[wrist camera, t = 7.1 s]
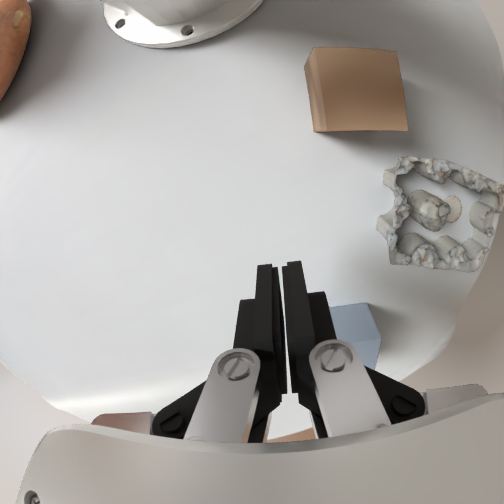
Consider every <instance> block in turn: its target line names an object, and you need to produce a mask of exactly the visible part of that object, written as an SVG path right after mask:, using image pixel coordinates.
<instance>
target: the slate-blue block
mask: <svg viewBox="0 0 504 504" xmlns="http://www.w3.org/2000/svg"><path fill="white" fill-rule="evenodd" d="M329 309H330V313H331V317H332V321H333V325H334V329H335V333H336V337H337V340H342V341H345V342H348V343H349V344H351V345H352V346H353V347H354V348H355V349H356V351H357V353H358V355H359V357H360V359H361V361H362V363H363V365H365V366H367V367H369V368H371V369H373V370H375V366H376V362H377V358H378V353H379V349H380V344H381V339H382V337H381V335H380V333H379V330H378V328H377V326H376V323H375V321H374V319H373V316H372V314H371V312H370V310H369V308H368V305H367V303H359V304H352V305H344V306H336V307H329Z"/></svg>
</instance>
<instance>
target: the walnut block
mask: <svg viewBox="0 0 504 504" xmlns="http://www.w3.org/2000/svg"><path fill="white" fill-rule="evenodd" d="M304 69H305V75H306V81H307V87H308V93H309V100H310V107H311V114H312V121H313V129H314V132H318V131H351V130H391V131H408V126H407V115H406V107H405V99H404V92H403V85H402V79H401V73H400V68H399V63H398V58H397V53H396V52H394V51H386V50H377V49H365V48H348V47H314V48H313V50H312V52H311V54H310V56H309V58H308V60H307V62H306V64H305V66H304Z"/></svg>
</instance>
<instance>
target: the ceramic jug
mask: <svg viewBox="0 0 504 504" xmlns="http://www.w3.org/2000/svg"><path fill="white" fill-rule="evenodd" d="M31 17H32V16H31V8H30V5H29V3H28V2H27V0H0V101H1V99H2V98H3V96H4V94H5V93H6V91H7V89H8V88H9V86H10V84H11V82H12V80H13V78H14V76H15V74H16V72H17V70H18V67H19V65H20V63H21V60H22V57H23V54H24V51H25V48H26V45H27V41H28V37H29V33H30V27H31Z"/></svg>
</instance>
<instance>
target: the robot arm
mask: <svg viewBox="0 0 504 504" xmlns="http://www.w3.org/2000/svg"><path fill="white" fill-rule="evenodd" d="M100 1H102V2H104V4H103V11H104V18H105V20H106V22H107V24H108V26H109V28H110V29H111V30H112V31H113V32H114V33H115V34H116V35H118V36H119V37H121V38H122V39H124V40H126V41H128V42H130V43H133V44H135V45H139V46H143V47H148V48H171V47H180V46H184V45H189V44H193V43H197V42H200V41H203V40H206V39H208V38H211V37H214V36H216V35H218V34H220V33H222V32H224V31H226V30H228V29H230V28H232V27H234V26H235V25H237V24H238V23H240V22H241V21H243V20H244V19H246V18H247V17H248V16H249V15H250V14H251V13H252V12H254V11H255V10H256V9H257V8H258V7H259V6H260V4H261V3H262V2H263V1H264V0H100ZM190 32H193V33H192V34H191V35H189V36H188V34H189V33H190ZM282 275H283V288H284V303H285V318H286V334H287V346H288V356H289V366H290V376H291V387H292V393H298V398H299V403H300V404H301V405H303V406H304V407H306V408H307V409H309V414H310V418H311V421H312V425H313V429H314V433H315V436H316V439H314V440H304V441H293V442H278V443H266V441H267V436H268V431H269V426H270V422H271V414H272V411H273V410H274V409H275V408H276V407H278V406H279V405H280V402H282V394H287V371H286V348H285V328H284V317H283V308H282V299H281V291H280V283H279V274H278V267H272V264H266V265H258V266H257V280H256V294H255V299H246V300H241V301H240V304H239V311H238V318H237V325H236V332H235V338H234V345H233V349H231V350H228V351H226V352H224V353H222V354H221V355H219V356H218V357H217V358H216V360H215V361H214V363H213V365H212V368H211V370H210V373H209V375H208V378H207V380H206V381H205V382H203V383H202V384H200V385H199V386H197V387H196V388H194V389H193V390H191V391H190V392H188V393H187V394H185V395H184V396H182V397H181V398H179V399H177V400H176V401H174V402H173V403H171V404H170V405H168V406H166V407H165V408H163V409H162V410H161V411H159V412H158V413H157V414H152V413H151V412H138V413H117V414H102V415H99V416H98V417H96V418H95V419H94V420H93V422H92V424H91V425H90V424H75V425H65V426H61V427H57V428H54V429H52V430H50V431H49V432H47V433H46V434H45V435H44V437H43V438H42V439H41V441H40V442H39V444H38V446H37V447H36V449H35V451H34V453H33V455H32V458H31V460H30V462H29V464H28V467H27V469H26V472H25V475H24V477H23V480H22V483H21V487H20V490H19V493H18V497H17V501H16V504H504V393H495V394H489V395H488V393H487V391H486V390H485V389H484V388H483V387H482V386H480V385H478V384H469V385H462V386H454V387H446V388H437V389H427V390H426V391H425V392H423V393H419V392H417V391H416V390H414V389H413V388H411V387H408V386H406V385H404V384H402V383H400V382H398V381H396V380H393V379H391V378H389V377H387V376H385V375H383V374H381V373H379V372H377V371H375V370H373V369H371V368H369V367H367V366H365V365H363V363H362V361H361V359H360V357H359V355H358V353H357V351H356V349H355V348H354V347H353V346H352V345H351V344H349V343H348V342H345V341H342V340H337V337H336V333H335V329H334V325H333V321H332V317H331V313H330V309H329V306H328V302H327V298H326V294H325V292H324V291H323V292H314V293H307V289H306V284H305V279H304V274H303V269H302V264H301V261H293V262H287V266H282Z"/></svg>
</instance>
